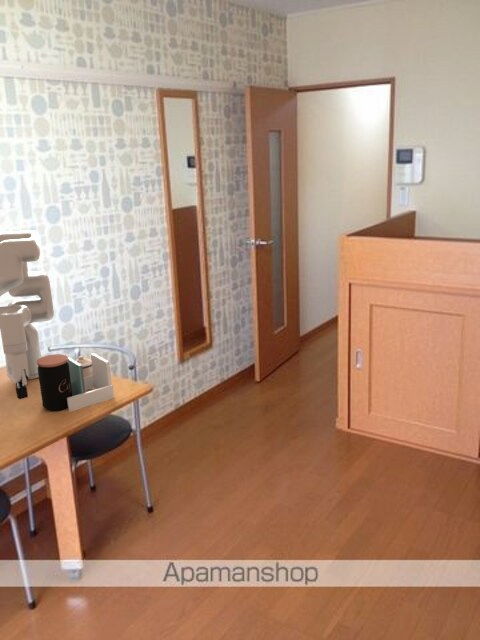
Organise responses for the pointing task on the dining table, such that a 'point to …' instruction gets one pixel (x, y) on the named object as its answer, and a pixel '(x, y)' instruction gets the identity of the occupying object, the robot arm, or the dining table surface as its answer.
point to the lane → (94, 385)
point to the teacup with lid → (85, 366)
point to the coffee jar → (54, 382)
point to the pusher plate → (76, 377)
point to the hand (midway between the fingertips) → (22, 397)
